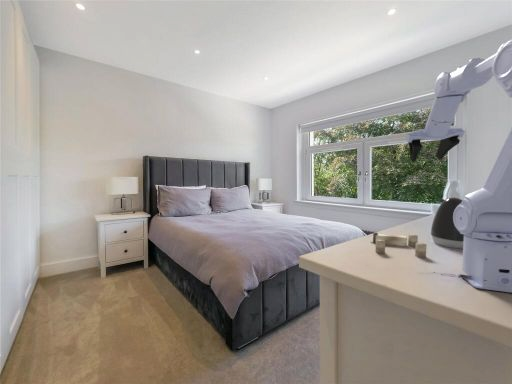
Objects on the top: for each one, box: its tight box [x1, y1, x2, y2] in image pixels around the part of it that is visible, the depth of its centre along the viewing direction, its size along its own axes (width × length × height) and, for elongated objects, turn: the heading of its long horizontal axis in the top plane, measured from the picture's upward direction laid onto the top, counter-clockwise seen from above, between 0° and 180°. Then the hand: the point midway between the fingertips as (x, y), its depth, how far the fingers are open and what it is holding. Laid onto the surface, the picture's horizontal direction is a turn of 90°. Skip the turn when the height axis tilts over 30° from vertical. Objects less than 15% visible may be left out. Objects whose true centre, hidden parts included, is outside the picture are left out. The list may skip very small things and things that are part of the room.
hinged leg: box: [372, 232, 408, 247], centre depth 69 cm, size 9×2×3 cm, turn 70°
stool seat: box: [370, 234, 427, 259], centre depth 64 cm, size 14×13×4 cm
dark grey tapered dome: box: [430, 197, 464, 250], centre depth 68 cm, size 10×10×15 cm
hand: (425, 158), depth 74 cm, fingers open, 7 cm apart
